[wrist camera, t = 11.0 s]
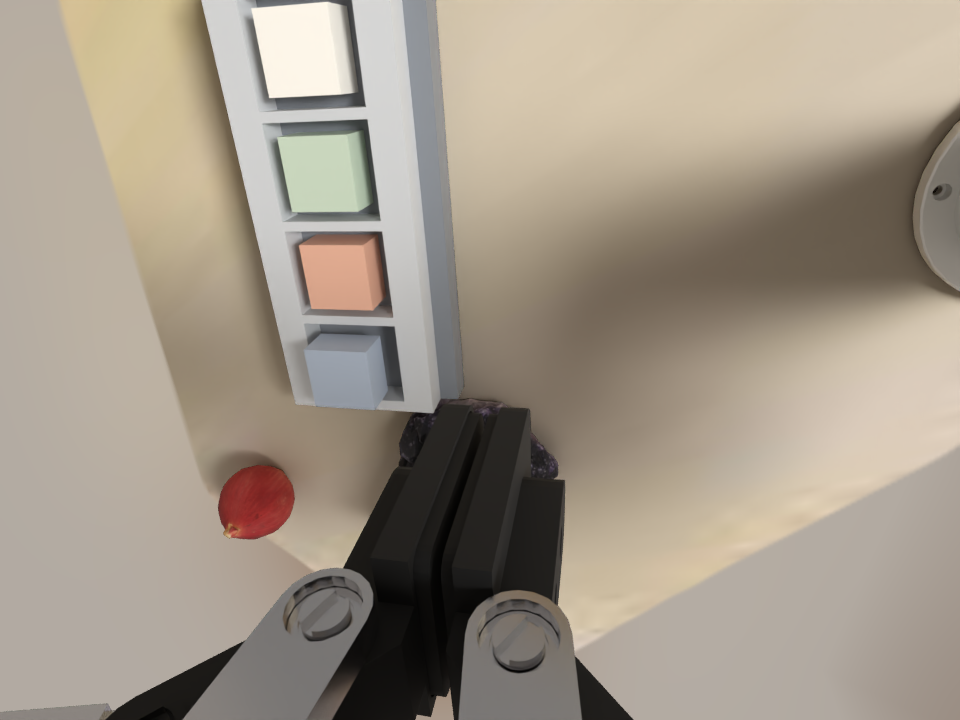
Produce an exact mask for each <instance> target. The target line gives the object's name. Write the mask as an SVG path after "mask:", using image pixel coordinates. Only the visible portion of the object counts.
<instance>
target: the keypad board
mask: <svg viewBox="0 0 960 720" xmlns="http://www.w3.org/2000/svg"><path fill="white" fill-rule="evenodd" d="M201 1H202V5H203V10H204V14H205V18H206V22H207V27H208V31H209V35H210V40H211V44H212V48H213V52H214V57H215V61H216V65H217V70H218V74H219V78H220V82H221V87H222V91H223V95H224V100H225V104H226V108H227V112H228V117H229V121H230V125H231V130H232V134H233V138H234V142H235V147H236V151H237V155H238V160H239V164H240V168H241V172H242V177H243V181H244V185H245V190H246V194H247V198H248V202H249V207H250V211H251V215H252V219H253V224H254V228H255V232H256V237H257V241H258V245H259V249H260V254H261V258H262V262H263V267H264V271H265V275H266V279H267V284H268V288H269V292H270V297H271V301H272V305H273V309H274V314H275V318H276V322H277V327H278V331H279V335H280V339H281V344H282V348H283V352H284V357H285V361H286V365H287V369H288V374H289V378H290V382H291V386H292V391H293V395H294V399H295V404H296V405H311V406H316V405H315V401H314V396H313V391H312V387H311V382H310V377H309V373H308V368H307V363H306V359H305V354H304V349H305V348H306V347H307V346H308V345H309V344H310V343H311V342H312V341H313V340H315V339H316V338H317V337H318V336H319V335H320V334H349V335H376V336H380V339H381V346H382V353H383V360H384V367H385V374H386V380H387V387H388V392H387V393H386V395H385V396H384V398H383V399H382V401H381V402H380V404H379V405H378V407H377V408H376V410H390V411H405V412H421V413H434V411H435V409H436V407H437V405H438V403H439V401H440V399H441V398H442V399H459V396H460V394H461V392H462V389H463V387H464V377H463V363H462V350H461V336H460V322H459V309H458V295H457V282H456V268H455V255H454V241H453V228H452V214H451V201H450V187H449V174H448V160H447V147H446V133H445V120H444V106H443V93H442V79H441V66H440V52H439V39H438V25H437V12H436V0H201ZM319 2H330V3H335V4H340V5H344V6H347V10H348V18H349V25H350V32H351V40H352V47H353V55H354V62H355V69H356V77H357V84H358V92H357V93H349V94H341V95H321V96H302V97H283V98H269V94H268V89H267V84H266V79H265V74H264V69H263V64H262V59H261V54H260V49H259V44H258V39H257V34H256V29H255V24H254V19H253V14H252V9H251V8H261V7H273V6H284V5H296V4H307V3H319ZM348 130H364V136H365V144H366V151H367V158H368V166H369V173H370V181H371V188H372V195H373V203H372V204H370V205H369V206H367V207H365V208H364V209H362V210H360V211H359V212H292V209H291V204H290V199H289V194H288V189H287V184H286V179H285V174H284V169H283V164H282V159H281V154H280V149H279V144H278V139H277V137H280V136H285V135H289V134H293V133H298V132H322V131H348ZM317 234H378V240H379V247H380V255H381V262H382V270H383V277H384V284H385V292H386V297H385V298H384V299H383V300H382V301H381V302H380V303H379V305H378V306H377V307H376V308H375V309H374V310H373V311H371V310H334V309H311V304H310V299H309V294H308V289H307V284H306V279H305V274H304V269H303V264H302V259H301V254H300V249H299V245H300V244H302V243H303V242H305V241H307V240H308V239H310V238H312V237H313V236H315V235H317Z"/></svg>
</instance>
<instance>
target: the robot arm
mask: <svg viewBox="0 0 960 720" xmlns="http://www.w3.org/2000/svg"><path fill="white" fill-rule="evenodd" d="M937 186H938V190H937V191H936V192H935V193H933V194H932V192H933V191H934V189H935V188H936V187H937ZM912 217H913V228H914V237H915V240H916V243H917V246H918V248H919V251H920V254H921V256H922V257H923V259H924V260H925V262H926V263H927V265H928V266H929V267H930V269H931V270H932V271H933V272H934V273H935V274H936V275H938V276H939V277H940V278H941V279H942V280H943V281H944V282H946V283H947V284H949V285H950V286H952V287H953V288H955V289H956V290H958V291H960V121H958V122H957V123H956V124H955V125H954V126H953V128H952V129H951V130H950V132H949V133H948V134H947V135H946V137H945V138H944V139H943V141H942V142H941V143H940V144H939V146H938V147H937V148H936V150H935V152H934V153H933V155H932V157H931V159H930V161H929V162H928V164H927V166H926V168H925V170H924V171H923V174H922V177H921V180H920V183H919V186H918V189H917V191H916V194H915V201H914V209H913V216H912ZM564 513H565V480H556V479H544V478H532V477H531V424H530V410H529V409H526V408H509V407H501V408H500V410H499V414H489V416H488V419H487V422H486V425H485V428H484V421H483V415H482V413H474V410H473V407H472V405H459V404H443V405H442V407H441V409H440V411H439V413H438V415H437V417H436V420H435V422H434V424H433V426H432V428H431V430H430V432H429V434H428V436H427V438H426V441H425V443H424V445H423V447H422V449H421V451H420V453H419V455H418V457H417V459H416V462H415V464H414V466H413V468H412V467H400V466H399V467H397V468H396V469H395V470H394V472H393V473H392V475H391V477H390V479H389V481H388V483H387V485H386V487H385V489H384V490H383V492H382V494H381V496H380V498H379V500H378V502H377V504H376V506H375V508H374V510H373V512H372V514H371V515H370V517H369V519H368V521H367V523H366V525H365V527H364V529H363V531H362V533H361V535H360V537H359V539H358V540H357V542H356V544H355V546H354V548H353V550H352V552H351V554H350V556H349V558H348V560H347V562H346V564H345V566H344V567H343V568H330V569H323V570H319V571H316V572H314V573H311V574H308V575H306V576H304V577H303V578H301V579H300V580H298V581H297V582H295V583H293V584H292V585H291V586H290V587H289V588H288V589H287V590H286V591H285V592H284V593H283V594H282V595H281V597H280V598H279V599H278V600H277V602H276V603H275V604H274V605H273V607H272V608H271V609H270V610H269V612H268V613H267V614H266V615H265V617H264V618H263V619H262V620H261V622H260V623H259V624H258V626H257V627H256V628H255V629H254V630H253V632H252V633H251V634H250V636H249V637H248V638H247V639H246V640H245V641H244V642H241V643H239V644H237V645H236V646H234V647H231V648H230V649H228V650H226V651H224V652H222V653H220V654H218V655H216V656H214V657H212V658H210V659H208V660H206V661H204V662H202V663H200V664H198V665H196V666H195V667H193V668H191V669H189V670H187V671H185V672H183V673H181V674H179V675H177V676H175V677H173V678H171V679H169V680H167V681H165V682H163V683H161V684H160V685H158V686H156V687H154V688H152V689H150V690H148V691H146V692H144V693H142V694H140V695H138V696H136V697H135V698H133V699H132V700H130V701H128V702H127V703H125V704H124V705H122V706H121V707H119V708H117V709H116V710H113V711H112V710H111V708H110V707H109V705H108V704H107V703H106V704H94V705H81V706H69V707H56V708H44V709H31V710H19V711H6V712H0V720H415V719H416V716H417V715H423V716H428V717H431V715H432V711H433V707H434V704H435V700H436V696H443V697H446V696H447V694H448V692H449V689H450V690H451V698H452V706H453V715H454V720H633V719H632V718H631V717H630V716H629V714H628V713H627V712H626V711H625V710H624V709H623V708H622V707H621V706H620V705H619V704H618V703H617V702H616V700H615V699H614V698H613V697H612V696H611V695H610V694H609V693H608V692H607V690H606V689H605V688H604V687H603V686H602V685H601V684H600V683H599V682H598V681H597V680H596V678H595V677H594V676H593V675H592V674H591V673H590V672H589V671H588V670H587V669H586V668H585V666H584V665H583V664H582V663H581V662H580V661H579V660H578V659H577V658H576V657H575V653H574V644H573V635H572V631H571V628H570V624H569V621H568V619H567V617H566V616H565V614H564V613H563V612H562V610H561V609H560V607H559V606H558V598H559V586H560V575H561V564H562V552H563V536H564Z"/></svg>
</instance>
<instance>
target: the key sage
mask: <svg viewBox="0 0 960 720" xmlns="http://www.w3.org/2000/svg"><path fill="white" fill-rule="evenodd" d="M277 139H278V144H279V149H280V154H281V159H282V164H283V169H284V174H285V179H286V184H287V189H288V194H289V199H290V204H291V209H292V212H359V211H360V210H362V209H364V208H365V207H367V206H369V205H370V204H372V203H373V195H372V188H371V181H370V173H369V166H368V158H367V151H366V144H365V136H364V130H348V131H322V132H298V133H293V134H289V135H285V136H280V137H277Z"/></svg>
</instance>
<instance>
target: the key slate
mask: <svg viewBox="0 0 960 720" xmlns="http://www.w3.org/2000/svg"><path fill="white" fill-rule="evenodd" d="M304 354H305V359H306V363H307V368H308V373H309V377H310V382H311V387H312V391H313V396H314V401H315V405H316V406H317V407H333V408H349V409H364V410H376V408H377V407H378V405H379V404H380V402H381V401H382V399H383V398H384V396H385V395H386V393H387V392H388V387H387V380H386V374H385V367H384V360H383V353H382V346H381V339H380V336H376V335H349V334H320V335H319V336H318V337H317V338H316V339H315V340H313V341H312V342H311V343H310V344H309V345H308V346H307V347H306V348H305V349H304Z"/></svg>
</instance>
